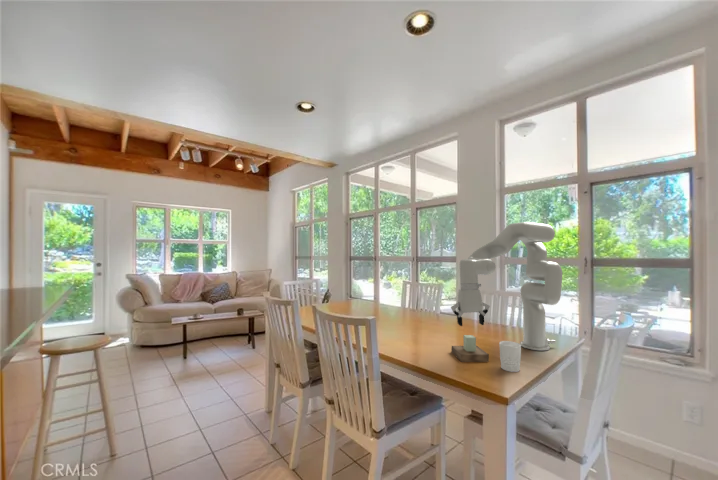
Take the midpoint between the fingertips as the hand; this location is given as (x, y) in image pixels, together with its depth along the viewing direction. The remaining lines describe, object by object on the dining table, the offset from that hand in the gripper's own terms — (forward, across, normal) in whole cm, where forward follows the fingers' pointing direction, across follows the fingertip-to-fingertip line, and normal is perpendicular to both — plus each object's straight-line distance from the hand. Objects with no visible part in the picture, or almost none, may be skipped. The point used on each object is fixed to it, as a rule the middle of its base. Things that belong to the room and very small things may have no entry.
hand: (471, 324), depth 136 cm
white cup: (+14, -9, +15) cm, 23 cm away
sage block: (+11, +1, 0) cm, 11 cm away
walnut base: (+14, +2, +1) cm, 14 cm away
